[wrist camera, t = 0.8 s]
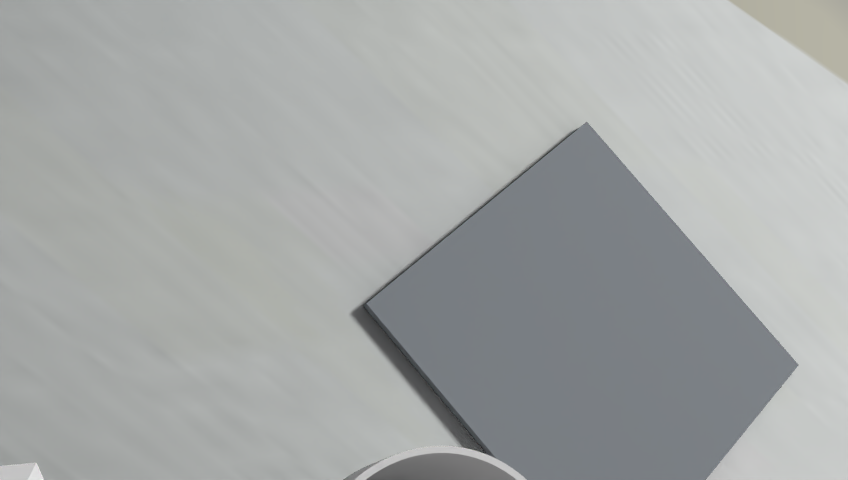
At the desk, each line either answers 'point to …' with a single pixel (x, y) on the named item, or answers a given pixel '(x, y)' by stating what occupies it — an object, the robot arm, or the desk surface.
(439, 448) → the cup
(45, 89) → the desk surface
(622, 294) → the mat
